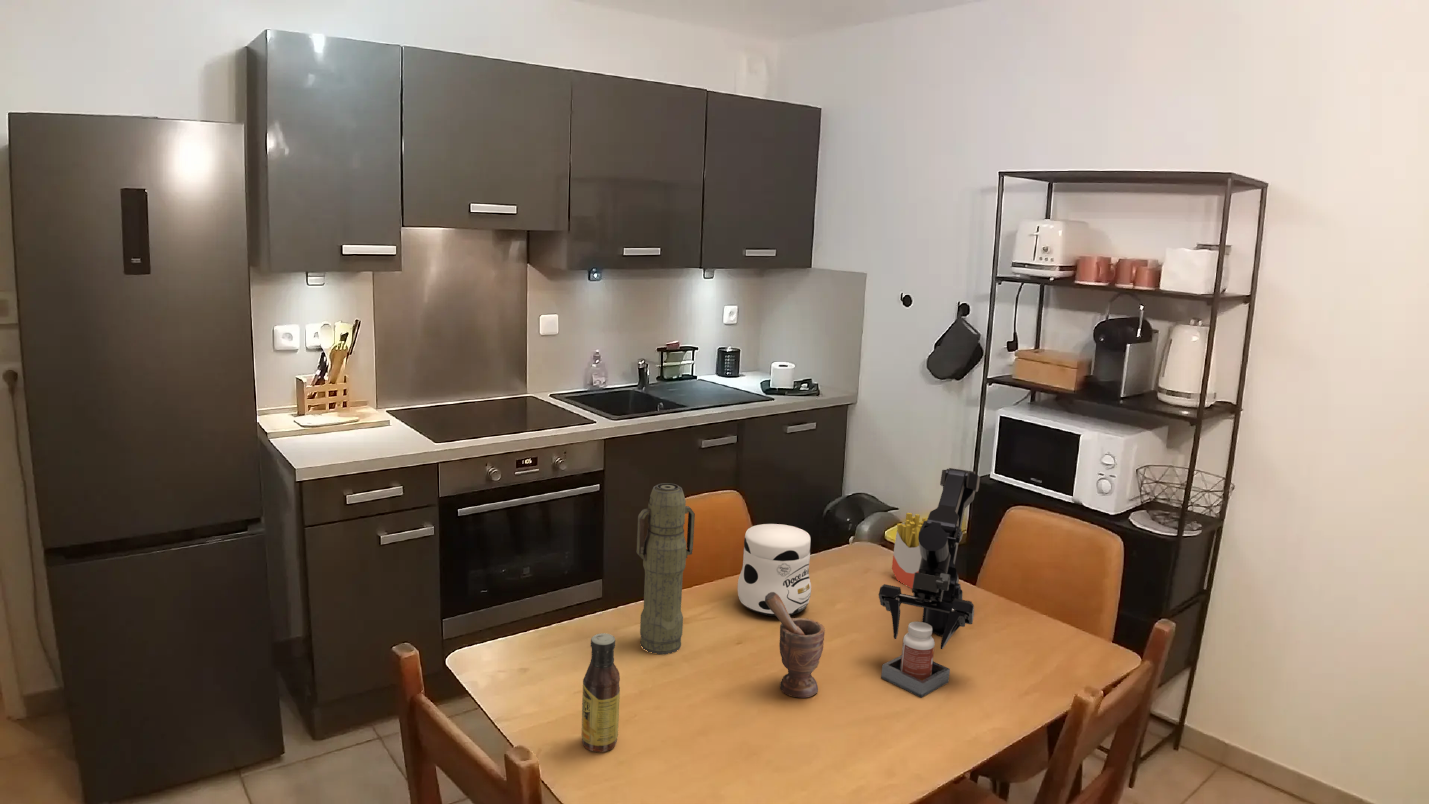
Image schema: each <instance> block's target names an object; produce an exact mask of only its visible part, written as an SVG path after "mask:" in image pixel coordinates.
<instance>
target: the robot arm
mask: <svg viewBox="0 0 1429 804" xmlns="http://www.w3.org/2000/svg"><path fill="white" fill-rule="evenodd" d="M980 479H981V477H980V476H979V475H978V474H976V471H972V470H966V469H959V468H952V467H948V468H946V469H942V470H941V475H940V482H939V485H940V486H941V487H942V492H941V495H940V497H939V502H938V504H937V507H936V508H935V509H933V510H931V511H929V513H928V517H927V521H924V523H923V525H922V527H921V529H920V531H919V536H918V540H919V547H920V554H921V557H922V558H921V562H920V567H919V571H918V573H916V572H915V575H914V581H913V587H912V589H911V592H912V593H913V595H910V594H907V593H902V589H901V586H900V587H899V586H895V585H891V584H885V583H884V584H883V585H881V586H880V588H879V591H878V598H879V603H880V605H881V606H882V607H884V608H885V610H886V611H887V612H890V615H891V619H892V620H891V621H892V631H893V639H894V640H896V639H897V637H898V634H899V629H900V628H899V627H900V619H901V604H904V605H909V606H914V607H918V608H922V610H923V611H922V620H921V622H924V623H927V624H929V625H931V626H932V634H936V635H937V636H941V637H942V638H941V640H940V641H941V642H940V647H939V648H940V650H944V648H945V646H946V645H947V643H948V642H949V641H950V639H951V637H953V634H955V633H956V631H957V630H958V629H959V628H961V627H962V628H964V627H966V625H972V624H973V623H974V622H973V621H974V617H975V604H974V603H973V602H972V601H969V600H964V599H963V589H962V587H961V583H959V581H960V579H959V573H958V571H957V569H956V566H955V565H956V560H957V553H958V548H959V544H960V542H961V541H962V539H963V537H964V536H963V535H964V533H963V531H962V530H963V529H962V526H963V520H964V516H965V515H964V514H965V512H966V511H965V510H966V508H968V506H969V505H970V504H971V503H973V501H974V499H975V494H976V493H977V492H978V491H979V489H980V482H981V481H980Z"/></svg>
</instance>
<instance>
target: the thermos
mask: <svg viewBox="0 0 1429 804" xmlns="http://www.w3.org/2000/svg"><path fill="white" fill-rule="evenodd" d="M684 493H685V492H684V491H683V488H682V487H681V486H679V485H678V484H675V483H668V482H667V483H665V482H664V483H658V484H656V485H655V486H654V485H653V488H652V489H651V492H650V495H649V498H648V505H647V508H643V509H642V510H641V511H640V512H639V514H638V516H637V532H636V533H637V534H636V537H637V538H636V554H637V555H638V557H640V558H641V559H642V560H643V561H642V566H643V569H644V587H643V588H644V591H643V593H644V594H643V609H642V610H641V613H640V623H639V625H640V626H639V627H640V628H639V634H640V643H639V644H641V645H640V647H641V646H642V647H643V649H645V650H647V651H648V652H647V651H646V652H647V653H649V652H652V653H651V654H653V653H657V654H656V655H669V654H668V653H670V654H673V653H672V652H674V653H676V652H678V651H679V650H681V646H682V636H683V629H684V615H683V612H682V599H683V597H682V596H683V595H682V594H683V593H682V592H683V577H684V576H683V575H684V574H683V573H684V571H685V568H686V562H687V560H686V559H688V556H690V555H692V554H693V550H694V537H695V536H694V535H695V534H694V533H695V520H696V519H695V516H696V515H695V511H693V509H692V508H691V507H690V506H689V505H687V504H686V499H685V498H686V497H685V494H684ZM686 515H687V530H686V531H687V534H686V535H687V536H686V538H685V529H684V526H685V522H686V521H685V520H686ZM646 517H647V523H648V527H647V532H646V536H645V520H646ZM644 537H645V538H644ZM643 649H642V650H643ZM645 650H644V651H645ZM677 650H678V651H677Z"/></svg>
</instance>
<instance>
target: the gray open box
mask: <svg viewBox="0 0 1429 804" xmlns="http://www.w3.org/2000/svg"><path fill="white" fill-rule="evenodd" d="M901 657H902V654H901V655H899V656H897V657H895V658H893V659H891V660H889V661H887V662H885V663H883V664H882V666H881V676H880V679H882V680H884V681H886V682H888V683H890V684H892V685H894V686H896V687H899V688H901V689H903V690H904V691H906V692H908V693H911V694H913V695H915V696H917V697H919V698H924V697H925V696H927V695H928V694H930V693H932V692H934V691H936V690H938V689H940V688H942V687H943V686H945V685H947V684H948V683H949V681H950V680H949V679H950V671H951V668H949V667H947V666H946V665H945V666H944V665H942V664H940V663H938V662H936V661H933V664H932V674H931V676H930V677H928V678H926V679H924V680H922V681H921V680H919V679H917V678H915V677H913V676H911V675H909V674H906V673H904V672H902V671H900V668H901Z"/></svg>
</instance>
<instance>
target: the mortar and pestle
mask: <svg viewBox="0 0 1429 804" xmlns="http://www.w3.org/2000/svg"><path fill="white" fill-rule="evenodd" d="M765 602H766V604H767V605H768V607H769V608H770V610H771V611H772V612H773V613H774V614H775V615H776V616H775V617H776V618H777V620H778V621H779V622H780V625H779V626H780V627H779V645H778V647H779V654H780V657H781V663H782V665H783V667H784V668H786V669H787V673H786V674H785V675H783V677H782V678H781V680H780V682H779V687H780V690H781V692H782V693H784V694H785V695H787V696H789V697H794V698H810V697H813V696H814V695H815V694H817V693H818V692H819V687H818V682H817V680H816V679H815V678H814V676H812V673H813V672H814V671H815V670H816V669H817V668H818V666H819V664H820V660H821V657H822V655H823V654H822V653H823V650H824V641H825V633H826V632H825V631H826V630H825V629H826V628H825V626H824V625H823V624H822V623H821V622H818V621H816V620H814V619H809V618H805V617H804V618H803V617H795V618H794V617H791V615H789V614H788V612H787V610H786V608H785V605H784V604H783V602H782V600H781V598H780V597H779V596H778V595H777V594H776V593H775V592H770V593H768V594H767V595H766V596H765Z"/></svg>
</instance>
